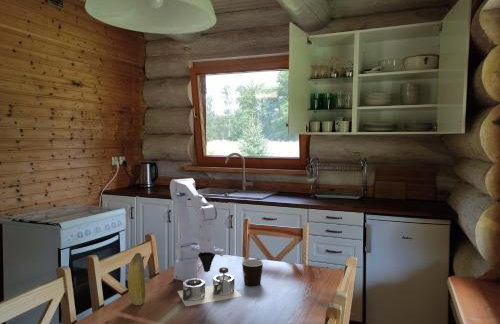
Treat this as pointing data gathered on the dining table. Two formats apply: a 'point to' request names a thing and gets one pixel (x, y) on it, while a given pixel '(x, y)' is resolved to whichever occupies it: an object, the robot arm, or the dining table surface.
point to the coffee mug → (252, 272)
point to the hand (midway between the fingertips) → (207, 271)
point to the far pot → (223, 285)
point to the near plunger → (194, 283)
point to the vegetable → (136, 280)
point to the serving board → (209, 296)
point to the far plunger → (223, 270)
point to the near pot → (193, 290)
